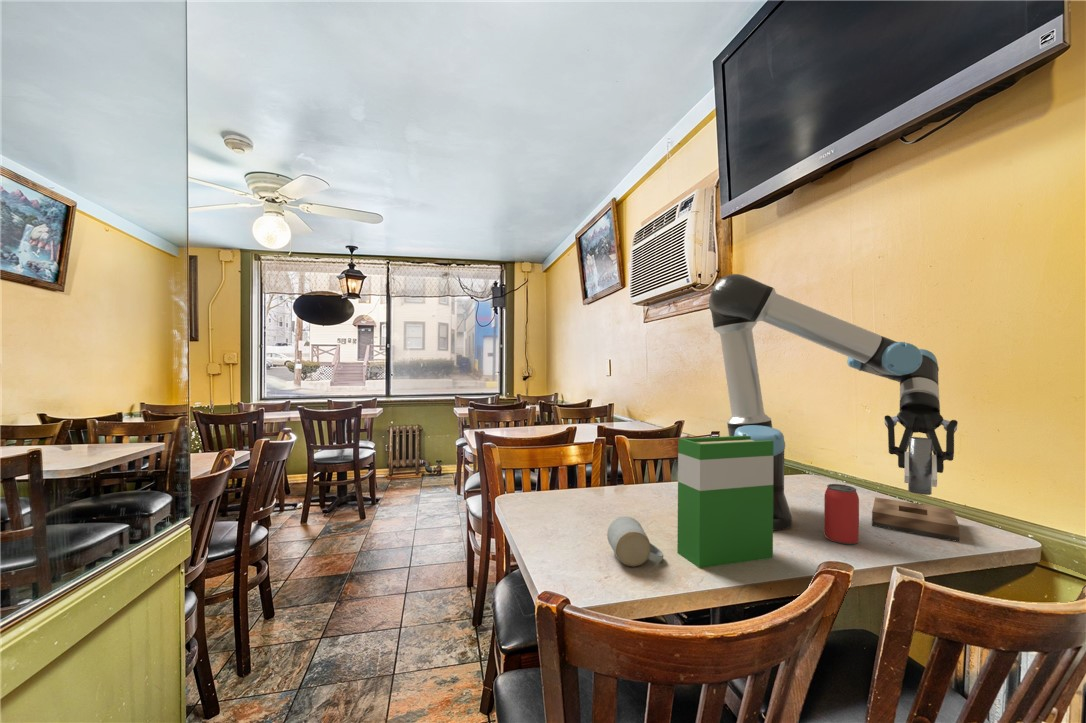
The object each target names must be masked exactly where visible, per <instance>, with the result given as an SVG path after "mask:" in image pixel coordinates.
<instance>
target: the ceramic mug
mask: <svg viewBox="0 0 1086 723" xmlns="http://www.w3.org/2000/svg"><path fill="white" fill-rule="evenodd" d="M606 537H607V540H608V544H609V545H610V547H611V549H612V551H613V552H614V556H615V557H616V558H617V559H618V561H619V562H620V563H622V564H623V565H625V566H628V567H638V566H641V565H643V564H644V563H645V562H646V561H647V560H649V561H650V562H654V563H657V564H658V563H662V561H663V559H664V553H663V551H661V550H660V548H658V547H657V546H656V545H654V544H653V543H651V542H650V540H649V537H648V535H647V534H646V532H645V530H644V528H643V527H642V525H641V523H640V522H639V521H638V520H637V519H635V518H633V517H632V516H628V515H622V516H619V517H616V518H615V519H614V520H612V522H611V523H610V524H609V525H608V528H607V533H606Z"/></svg>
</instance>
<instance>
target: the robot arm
mask: <svg viewBox="0 0 1086 723" xmlns="http://www.w3.org/2000/svg"><path fill="white" fill-rule="evenodd" d="M708 306H709V310H710V312H711V319H712V326H713V330H714V331H715V332H717V333H718V334H719V336H720V341H721V343H720V344H721V349H722V350H721V351H722V356H723V357H722V358H723V363H724V370H725V378H726V386H727V392H728V393H727V394H728V397H729V404H730V413H731V415H730V418H729V419H728V420H727V421H726V424H727V432H728V436H751V440H753V441H766V440H771V441H774V445H773V531H781V530H786V529H789V528H791V527H792V526H793V516H792V515H793V514H792V512H791V510H790V506H789V504H788V501H787V500H788V499H787V497H786V495H785V449H786V442H785V436H784V433H783V432H782V431H781V430H780V429H777V428H774V427H773V424H772V423H773V422H772V418H771V417H770V416H768V415H767V414H766V413H765V410H764V403H763V396H762V389H761V383H760V375H759V368H758V362H757V361H758V360H757V356H756V355H757V354H756V347H755V341H754V335H753V328H754V327H755V326H756V325H757V324H758V322H763V323H766V324H768V325H770V326H773V327H775V328H777V329H780V330H783V331H785V332H788V333H790V334H792V335H794V336H798V337H800V338H802V339H805V340H807V341H810V342H811V343H814V344H817V345H819V346H822V347H825V348H826V349H828V350H830V351H833V352H837V353H838V354H840V355H843V356H845V357H847V360H846V363H847V366H848V367H850V368H852V369H855V370H858V372H864V373H868V374H871V375H874V376H878V377H882V378H885V379H888V380H891V381H894V382H898V383H899V412H898V413H897V415H894V416H891V415H888V414H887V415H885V416H884V425H885V427H886V428H887V437H888V438H887V439H888V440H887V441H888V443H887V444H888V448H887V449H888V453H889V454H890V455H896V456H897V459H898V460H897V466H898V468H899V469H904V474H903V475H904V478H903V479H904V484H908V483H909V451H908V450H909V437H913V434H915V433H920V434H925V436H926V438H929V439H932V487H933V488H937V487H938V473H939V474H943V473H944V468H945V466H944V464H945V463H944V461H950V462H952V461H954V456H955V433H956V431H957V430H958V424H959V422H958V421H957V420H956V419H952V420H947V419H944V417H943V415H941V405H940V387H939V384H940V382H939V370H940V369H939V364H938V359H937V356H936V355H935V354H934V353H933V352H932V351H929V350H928V349H923V348H918V347H917V346H916V345H914V344H912V343H910V342H905V341H895V340H893V339H890V338H889V337H886V336H882V335H880V334H879V333H878V334H877V333H875V332H873V331H870V330H868V329H866V328H863V327H861V326H858V325H856V324H854V323H851V322H848V321H846V320H844V319H841V318H838V317H836V316H833V315H831V314H828V313H826V312H823V311H821V310H818V309H816V308H814V307H810V306H808V305H806V304H803V303H802V302H799V301H796V300H793V299H790V298H788V297H785V296H783V295H781V294H779V293H777V291H776V289H775V288H774V287H773V286H770V285H767V284H765V283H762V282H760V281H758V280H756V279H753V278H751V277H749V276H747V275H743V274H738V273H732V274H727V275H725V276H723V277H721V278H719V279H718V280H717V281H716V282H715V283H714V285H713V287H712V289H711V291H710V296H709V300H708ZM897 423H899V424H901V426H902V427H904V431H903V434H902V437H901V439H900V442H899V443H900V444H899V445H898V446H896V438H895V436H896V435H895V427H896V426H897ZM940 426H943V430H944V431H945V433H946V436H945V437H946V438H945V442H946V443H945V446H946V447H945V451H943V449H942V446H941V444H940V441H939V439H938V436H937V433H936V429H938V428H939V427H940Z"/></svg>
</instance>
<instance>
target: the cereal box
mask: <svg viewBox="0 0 1086 723" xmlns="http://www.w3.org/2000/svg"><path fill="white" fill-rule="evenodd" d="M677 443H678V444H677V445H678V446H677V456H678V457H677V546H676V547H677V551H676V552H677V554H678V555H679V556H681V557H682V558H683V559H685V560H687V562H690V563H691V564H693V565H694V566H695V567H697V568H698V569H703V568H711V567H719V566H725V565H731V564H733V565H734V564H738V563H746V562H747V563H748V562H752V561H761V560H768V559H773V558H774V530H773V445H774V441H771V440H766V441H753V440H751V436H729V435H727V436H713V437H712V436H709V437H706V436H705V437H686V438H685V437H683V438H681V437H680V438H678V439H677Z"/></svg>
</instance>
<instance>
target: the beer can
mask: <svg viewBox="0 0 1086 723" xmlns="http://www.w3.org/2000/svg"><path fill="white" fill-rule="evenodd" d="M823 501H824V507H823V508H824V512H823V513H824V515H823V516H824V518H823V520H824V521H823V523H824V524H823V525H824V526H823V528H824V529H823V530H824V531H823V533H824V537H825V538H826V539H828V540H829V541H832V542H833V543H838V544H843V545H855V544H857V543H859V540H860V526H859V525H860V498H859V495H858V492H857V488H856V487H854V486H851V485H847V484H841V483H830V484H827V488H826V490H825V492H824V500H823Z"/></svg>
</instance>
